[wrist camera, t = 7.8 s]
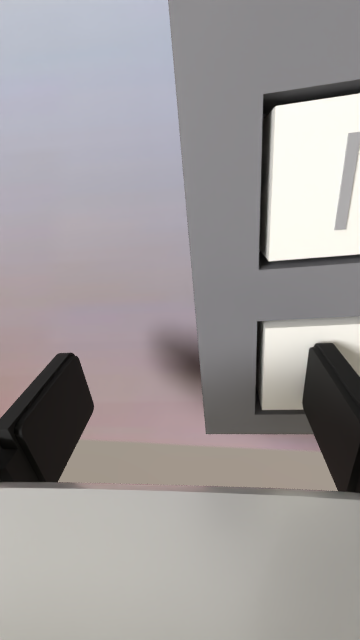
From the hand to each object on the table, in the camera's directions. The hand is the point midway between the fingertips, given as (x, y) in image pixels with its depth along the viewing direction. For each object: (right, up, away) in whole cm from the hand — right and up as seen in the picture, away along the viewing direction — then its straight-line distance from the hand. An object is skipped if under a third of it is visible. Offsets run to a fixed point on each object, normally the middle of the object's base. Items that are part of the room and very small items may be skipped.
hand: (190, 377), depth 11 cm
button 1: (+5, +2, +2) cm, 6 cm away
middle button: (+4, +7, -1) cm, 9 cm away
